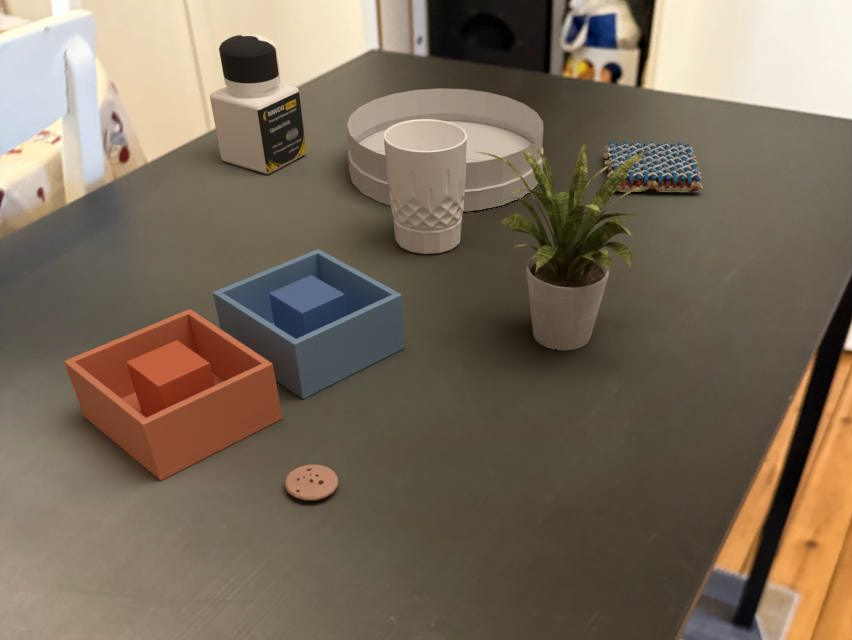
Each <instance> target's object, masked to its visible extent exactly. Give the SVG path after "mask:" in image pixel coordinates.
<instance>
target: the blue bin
mask: <svg viewBox="0 0 852 640" xmlns="http://www.w3.org/2000/svg"><path fill="white" fill-rule="evenodd" d="M310 275H312V276H314V277H316V278H318V279H319V280H321V281H323V282H325V283H326V284H328V285H330V286H332V287H333V288H335V289H337V290H339V291H340V292H342V293H344V294H345V302H346V312H347V316H345V317H343V318H341V319H338V320H336V321H334V322H332V323H330V324H328V325H325V326H323V327H321V328H319V329H317V330H315V331H312V332H310V333H308V334H306V335H304V336H302V337H299V338H297V339H295V338H294V337H292V336H290V335H289V334H287V333H286V332H284V331H282V330H281V329H279V328H278V327H276V326H274V320H273V314H272V308H271V302H270V296H269V293H270V292H273V291H275V290H277V289H280V288H282V287H284V286H287V285H289V284H291V283H294V282H296V281H299V280H301V279H303V278H306V277H308V276H310ZM212 296H213V301H214V305H215V306H214V307H215V310H216V314H217V319H218V323H219V328H220V329H221V330H223V331H224V332H226V333H227V334H229V335H230V336H232V337H233V338H235V339H236V340H238V341H239V342H241V343H242V344H244V345H245V346H247V347H248V348H250V349H251V350H253V351H254V352H256V353H257V354H259V355H260V356H262V357H263V358H265V359H266V360H268V361H269V362H271V363H272V364H273V368H274V374H275V380H276V383H278V384H280V385H281V386H283V387H284V388H286V389H287V390H289V391H290V392H292V393H293V394H294V395H296V396H298V397H299V398H300V399H302V400H304V399H306V398H308V397H310V396H312V395H315V394H317V393H319V392H320V391H322V390H324V389H326V388H328V387H330V386H331V385H332V386H333V385H335V384H336V383H338V382H340V381H342V380H344V379H346V378H348V377H350V376H352V375H354V374H356V373H358V372H360V371H362V370H364V369H366V368H368V367H370V366H372V365H374V364H376V363H378V362H381V361H382V360H383V359H386V358H388V357H390V356H393V354H396V353H398V352H400V351H402V350H404V349H405V347H406V346H405V345H406V344H405V329H404V328H405V327H404V326H405V325H404V309H403V295H402V294H401V293H399V292H398V291H397V290H395V289H392V288H390V286H387V285H385V284H383V283H382V282H380V281H378V280H376V279H375V278H372V277H371V276H368V275H367V274H365V273H364V272H362V271H359V270H358V269H356V268H354V267H352V266H350V265H348V264H347V263H345V262H343V261H342V260H339V259H338V258H337V257H336V258H335V256H332V255H331V254H329V253H327V252H325V251H323V250H321V249H319V248H317V249H313V250H312V251H310V252H308V253H304V254H303V255H300V256H296V257H295V258H293V259H290V260H288V261H286V262H282V263H280V264H278V265H275V266H273V267H271V268H269V269H266V270H264V271H260V272H259V273H256V274H254V275H251V276H249V277H246V278H244V279H241V280H239V281H237V282H234V283H231V284H229V285H227V286H224V287H222V288H219V289H217V290H215V291H213V292H212Z"/></svg>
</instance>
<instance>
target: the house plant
mask: <svg viewBox="0 0 852 640" xmlns="http://www.w3.org/2000/svg"><path fill="white" fill-rule="evenodd" d="M591 137H592V135H590V136H589V137H588V138H587V139H586V141H585V142H584V143H583V144H582V146H581V148H580V150H579V153H578V155H577V158H576V161H575V165H574V169H573V173H572V179H571V183H570V188H569V192H568V191H561V192H557V191H556V187H555V181H554V177H553V173H552V169H551V167H550V164H549V161H548V159H547V158H546V156H545V155H544V153H543V154H542V153H541V152H540V151H539V150H538V149H536V148H535V147H533V146H531V145H530V146H531V147H532V148H534V149H535V150H536V151H537V152H538V154H539V155H540V157H541V159H542V161H543V167H544V169H545V171H546V173H545V172H544V170H542V169H541V167H540V165H539V164H538V162H537V160H536V159H535V158H534V156H532V155H531V154H530V153H529V152H527V151H526V150H525V149H524V151H525V152H526V154H527V155H528V156H527V155H526V154H524V153H523V154H524V156H525V158H526V160H527V162H528V163H529V164H530V166H531V167H532V170H533V173H534V176H535V178H536V180H537V182H538V184H539V185H538V186H539V187H540V190H541V191H542V192H541V191H540V190H536V189H535V190H530V188H529V186H528V185H527V183H526V182H525V180H524V179H523V177H522V176H521V174H520V173H519V172H518V171H517V170H516V169H515V168H514V167H513V166H512V165H511V164H510V163H509V162H508V161H506V160H504V159H503V158H501V157H498V156H495V155H492V154H489V153H484V152H477V153H482V154H486V155H489V156H492V157H495V158H497V159H499V160H501V161H503V162H504V163H506V164H507V165H509V166H510V167H511V168H512V169H513V170H514V171H515V172H516V173H517V175H518V176H519V177H520V179H521V180H522V182H523V183H524V185H525V186H526V188H527V189H520V190H516V191H514V192H513V193H516V192H520V191H526V190H528V191H529V193H530V196H531V198H532V199H533V201H534V203H535V205H536V206H537V208H538V209H539V212H540V213H541V215H542V217H543V218H544V221H545V223H546V225H547V227H548V230H549V231H550V235H551V237H552V241H553V245H554V247H553V245H552V243H551V241H550V239H549V236H548V233H547V231H546V229H545V226H544V225H543V223H542V221H541V218H540V216H539V215H538V212H537V211H536V209H535V208H534V207H533V205H532V204H531V203H530V202H529V201H527V200H526V199H524V198H522V199H521V198H515V199H519V200H518V201H519V202H521V203H522V204H523V205H524V206H525V207H526V209H527V210H528V211H529V213H530V214H531V216H532V217H533V219H534V221H535V223H536V225H537V226H536V225H535V224H534V223H533V222H532V221H530V220H529V218H527V217H526V216H524V215H522V214H519V213H511V214H509V215H507V216H505V217H504V218H503V219H502V220H501V222H500V223H499V225H500V224H503V226H507V227H511V228H508V229H507V230H506V231H505V232H509V231H510V232H518V233H523V234H528V235H531V237H533V238H534V240H535V241H536V242H537V243H538V246H539V248H537V247H536V246H533V245H530V244H527V243H519V244H516V245H515V246H514V247H512V248H513V249H515V248H520V247H525V246H526V247H527V246H528V247H530V248H532V250H534V251H535V254H534V255H533V256H532V257H530V258H529V259H528V261H527V263H526V264H525V265H526V266H525V270H526V271H525V273H526V280H527V289H528V298H529V299H528V300H529V309H530V316H531V318H530V319H531V326H532V327H531V328H532V335H533V338H534V340H535V341H536V343H538V344H539V345H541V346H543V347H545V348H548V349H551V350H555V349H557V351H572V350H577V349H580V348H582V347H584V346H586V345H587V344H588V343H589V342H590V341H591V337H592V334H593V331H594V327H595V324H596V321H597V317H598V314H599V311H600V307H601V303H602V300H603V296H604V293H605V290H606V287H607V283H608V279H609V276H610V275H611V271H610V269H611V264H612V261H613V260H612V258H611V256H610V253H609V251H608V249H610V250H611V251H612V252H614V253H615V254H616V255H618V256H619V257H620V258H622V259H623V260H624V261H625V262H626V263H627V265H628V266H629V270H630V271H632V258H633V255H632V253H631V250H630V249H629V247H628V246H626V245H625V244H623V243H620V242H617V241H610V240H611V239H612V238H613V237H614V236H616V235H618V234H627V235H629V236H630V237H631V238H632V239H633V240H634V241H636V239H635V237H634V236H633V235H632V233H631V231H630V229H629V228H628V227H626V226H625V225H622V224H621V223H622V222H623V221H626V219H624V218H621V216H636V215H637V213H627V212H612V213H605V212H606V211H607V210H608V209H609V208H610V207H611V206H612V205H614V204H615V203H616V202H618V201H619V200H620V199H622V198H624V197H625V196H627V195H628V194H631V192H634V191H638V190H642V189H646V188H649V189H650V187H637V188H634V189H632V190H630V191H628V192H624V194H622V195H621V196H620V197H618V198H617V199H616V200H615V201H613V202H612V203H611V204H610V205H609V206H608V207H607V208H605V209H604V207H605V206H606V205H607V203H608V201H609V200H610V198H611V197H612V196H613V194H614V193H616V192H617V191H616V189H617V188H618V187H619V186H620V185H621V184H622V183H623V181H624V180H625V178H626V176H627V174H628V172H629V170H630V168H631V167H632V166H633V165H634V164H635V163H636V162H637V161H638V160H639V159H640V158H641V157H642V156H643V155H644V154H645V153H646V152H648V151H645V152H642V153H639V154H636V155H634V156H632V157H630V158H629V159H627V160H626V161H625V162H624V163H622V164H621V165H620V166H619V167H618V168H617V169H616V170H615V171H614V172H613V173H612V175H611V176H610V177H609V178H608V177H607V179H606V180H605V181H604V183H602V185H601V186H600V187H599V188H598V190H597V192H596V193H595V194H594V195H593V196H592V200H591V202H590V204H586V205H584V201H585V195H586V190H587V188H588V186H589V185H590V183H591V182H593V180H594V179H595V178H597V177H598V176H599V175H600V174H602V173H603V172H604V171H606V170H607V169H609V168H608V167H609V166H610V165H611V164H613V163H614V162H615V161H614V162H613V163H611V164H609V165H607V166H606V167H602V168H601V169H599V170H598V171H597V172H596V173H595V174H594V175H593V176H591V178H590V179H589V180H588V178H589V166H588V157H587V156H588V155H587V153H586V148H587V146H588V143H589V140H590V138H591ZM474 152H475V151H474ZM513 193H511V194H513ZM535 196H536V197H537V199H538V200H539V201H540V203H541V204H542V206H543V208H544V210H545V212H546V214H547V216H548V219H549V221H548V219H547V217H546V215H545V213H544V210H543V209H542V207H541V205H540V204H539V202H538V200H537V199H536V197H535ZM507 199H514V198H513V197H511V198H507ZM507 199H505V200H507ZM586 208H588V210H586ZM603 209H604V210H603ZM585 210H586V211H585ZM602 210H603V211H602ZM606 219H608V220H606ZM604 220H605V222H604V223H603V224H601V225H600V226H599V227H597V228H596V229H595V230H593V229H594V228H595V226H596V225H597V224H598V223H600V222H602V221H604ZM627 221H628V222H629V220H627ZM549 222H550V223H549ZM550 225H551V226H550ZM592 230H593V231H592ZM505 232H504V233H505ZM604 247H606V248H608V249H602V248H604ZM601 249H602V250H601Z"/></svg>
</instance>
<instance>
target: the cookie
mask: <svg viewBox="0 0 852 640" xmlns="http://www.w3.org/2000/svg"><path fill="white" fill-rule="evenodd" d="M284 487H285V489H286V491H287V493H288V494H290V496H291V497H294V498H295V499H299V500H303V501H319V500H322V499H325V498H327V497H329V496H330V495H332V494H334V492H335V491H336V489H337V488H338V487H339V477H338V476H337V474H336V472H335V471H334V470H332V469H331V468H330V467H328V466H325V465H321V464H306V465H301V466H299V467H297V468H295V469H293V470H291V471H290V472H289V473H288V474H287V476H286V477H285V481H284Z"/></svg>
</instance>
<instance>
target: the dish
mask: <svg viewBox="0 0 852 640" xmlns="http://www.w3.org/2000/svg"><path fill="white" fill-rule="evenodd" d="M418 119H433V120H441V121H447V122H450V123H453V124H456V125H458V126H460V127H462V128H463V129H464V130H465V131H466V133H467V153H466V179H465V195H464V211H473V210H482V209H486V208H492V207H496V206H501V205H504V204H506V203H509V202H511V201H514V200H517V199H515V198H522V197H523V196H524V195H525V194H527V193H529V191H528V190H526V191H520V192H516V193H513V192H514V191H516V190H520V189H527V188H526V186H525V185H524V183H523V182H522V180H521V179H520V177H519V176H518V175H517V173H516V172H515V171H514V170H513V169H512V168H511V167H510V166H509V165H507V164H506V163H504V162H503V161H501V160H499V159H497V158H495V157H492V156H489V155H486V154H482V153H477V152H484V153H489V154H492V155H495V156H498V157H501V158H503V159H504V160H506V161H508V162H509V163H510V164H511V165H512V166H513V167H514V168H515V169H516V170H517V171H518V172H519V173H520V174H521V176H522V177H523V179H524V180H525V182H526V183H527V185H528V186H529V188H530V190H533V189H534V188H535V187H536V186H537V184H538V182H537V180H536V178H535V176H534V173H533V170H532V167H531V166H530V164H529V163H528V162H527V160H526V158H525V156H524V154H526V152H525V151H524V149H525V150H526V151H527V152H529V153H530V154H531V155H532V156H534V158H535V159H536V160H537V162H538V164H539V165H540V167H541V169H542V170H543V169H544V163H543V161H542V159H541V157H540V155H539V154H538V152H537V151H536V150H535V149H534V148H532V147H531V146H533V147H535V148H536V149H538V150H539V151H540V152H541V153H542V154H543V155H544V147H543V140H544V120H543V119H542V118H541V117H540V115H539V114H538V112H537V111H535V110H534V109H533V108H531V107H530V106H528V105H527V104H526V103H524V102H521V101H518V100H516V99H513V98H510V97H508V96H504V95H500V94H496V93H492V92H488V91H481V90H474V89H466V88H424V89H414V90H407V91H402V92H401V91H400V92H396V93H393V94H392V93H391V94H388V95H384V96H382V97H379V98H375V99H373V100H371V101H369V102H367V103H364V104H363V105H360V106H359V107H358V108H357V109H356V110H354V112H352V113H351V114H350V116H349V118H348V121H347V123H346V129H347V140H348V149H347V160H348V172H349V176H350V178H351V182H352V184H353V185H354V187H356V189H358V190H359V192H360V193H361V194H362V195H365V196H366V197H368V198H370V199H372V200H374V201H376V202H378V203H380V204H383V205H387V206H390V207H391V202H390V193H389V186H388V176H387V166H386V156H385V146H384V137H383V135H384V132H385V131H386V130H387V129H388V128H389V127H391V126H393V125H395V124H397V123H401V122H404V121H409V120H418ZM530 145H531V146H530ZM474 151H475V152H474ZM523 153H524V154H523ZM526 155H527V154H526ZM527 156H528V155H527ZM543 171H544V170H543ZM537 187H538V186H537ZM511 193H513V194H511ZM511 197H513V198H514V199H507V198H511ZM505 199H507V200H505ZM522 199H523V198H522Z"/></svg>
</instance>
